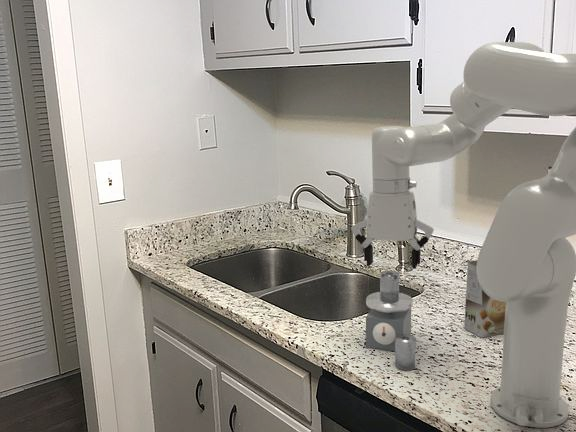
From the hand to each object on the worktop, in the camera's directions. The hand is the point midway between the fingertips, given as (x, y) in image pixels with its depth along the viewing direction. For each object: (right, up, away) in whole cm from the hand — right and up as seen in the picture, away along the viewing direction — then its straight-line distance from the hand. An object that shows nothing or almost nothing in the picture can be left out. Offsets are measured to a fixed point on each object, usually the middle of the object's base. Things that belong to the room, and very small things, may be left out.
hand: (392, 265), depth 128 cm
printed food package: (+24, -16, +8) cm, 29 cm away
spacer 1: (0, -8, +2) cm, 8 cm away
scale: (0, -17, +5) cm, 17 cm away
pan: (0, -10, +3) cm, 10 cm away
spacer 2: (+1, -20, -7) cm, 21 cm away
